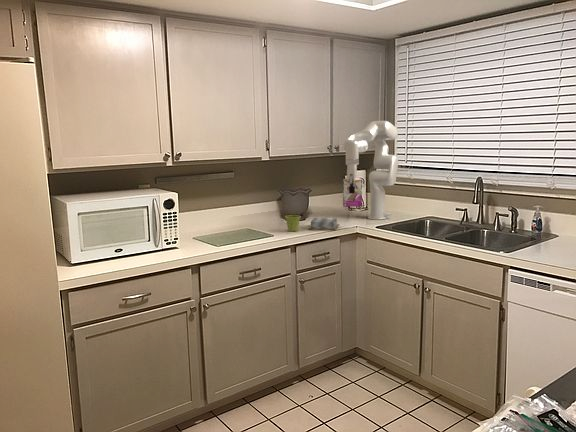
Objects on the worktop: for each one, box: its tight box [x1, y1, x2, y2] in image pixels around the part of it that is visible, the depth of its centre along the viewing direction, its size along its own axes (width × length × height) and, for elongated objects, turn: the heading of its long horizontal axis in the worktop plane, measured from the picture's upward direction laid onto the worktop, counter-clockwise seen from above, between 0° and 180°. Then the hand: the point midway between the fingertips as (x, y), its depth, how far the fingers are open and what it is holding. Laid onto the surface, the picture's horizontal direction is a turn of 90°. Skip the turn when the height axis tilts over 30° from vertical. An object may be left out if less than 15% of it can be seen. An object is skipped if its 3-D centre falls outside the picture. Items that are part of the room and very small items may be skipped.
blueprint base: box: [308, 217, 340, 231], centre depth 296 cm, size 16×16×5 cm
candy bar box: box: [342, 178, 363, 208], centre depth 289 cm, size 11×5×16 cm, turn 84°
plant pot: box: [284, 214, 302, 232], centre depth 289 cm, size 9×9×9 cm
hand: (352, 192), depth 289 cm, fingers closed on candy bar box, 5 cm apart
